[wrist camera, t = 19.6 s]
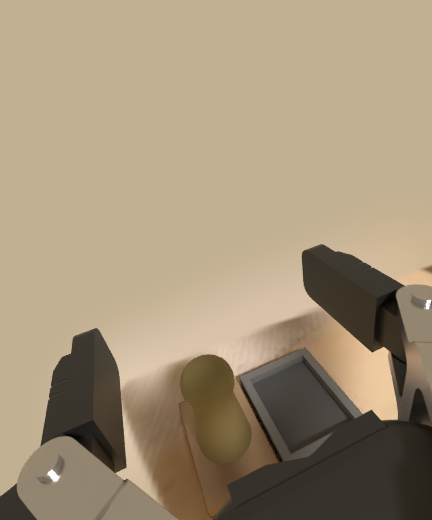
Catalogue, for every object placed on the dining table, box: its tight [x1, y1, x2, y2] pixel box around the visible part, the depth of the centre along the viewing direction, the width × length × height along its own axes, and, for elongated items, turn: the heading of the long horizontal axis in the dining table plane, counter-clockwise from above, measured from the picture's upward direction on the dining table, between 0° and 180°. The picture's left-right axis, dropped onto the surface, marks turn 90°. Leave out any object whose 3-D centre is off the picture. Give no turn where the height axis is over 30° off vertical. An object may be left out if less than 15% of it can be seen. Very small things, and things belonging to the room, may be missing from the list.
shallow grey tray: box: [240, 348, 363, 462], centre depth 36 cm, size 10×12×2 cm
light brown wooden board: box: [179, 379, 279, 517], centre depth 34 cm, size 8×12×2 cm, turn 20°
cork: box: [181, 354, 252, 464], centre depth 31 cm, size 6×6×11 cm
